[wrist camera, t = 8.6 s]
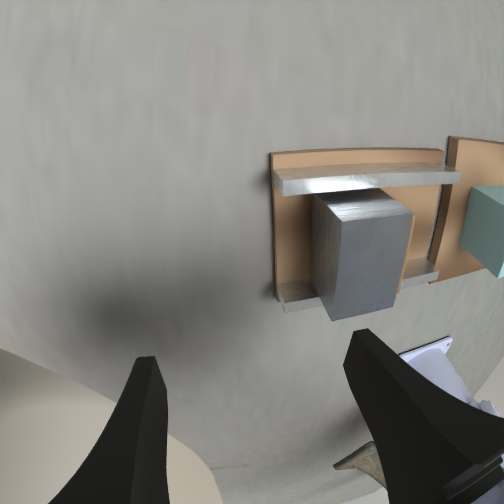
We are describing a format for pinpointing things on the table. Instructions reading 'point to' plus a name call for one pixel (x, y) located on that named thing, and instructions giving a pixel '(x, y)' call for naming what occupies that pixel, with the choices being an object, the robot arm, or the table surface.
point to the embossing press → (364, 462)
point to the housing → (485, 227)
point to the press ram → (358, 250)
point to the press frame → (394, 184)
